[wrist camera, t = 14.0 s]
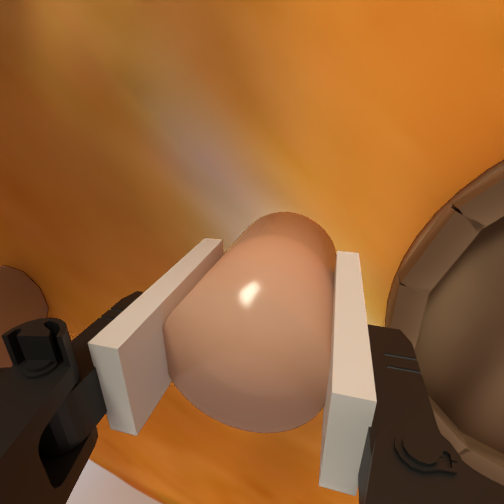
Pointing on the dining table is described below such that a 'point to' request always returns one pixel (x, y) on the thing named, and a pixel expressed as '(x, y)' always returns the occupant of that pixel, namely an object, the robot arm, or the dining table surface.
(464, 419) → the groove tray
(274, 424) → the pinkish brown egg
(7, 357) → the vase
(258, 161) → the dining table surface
